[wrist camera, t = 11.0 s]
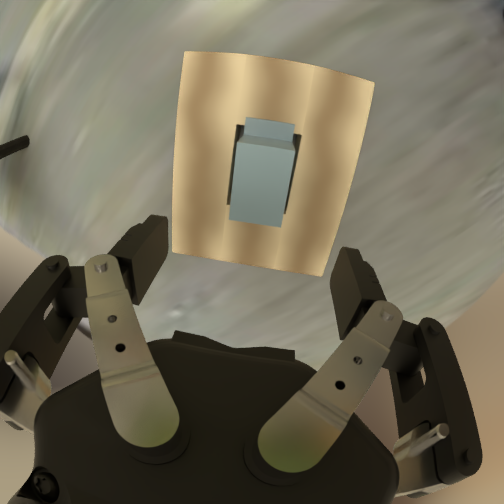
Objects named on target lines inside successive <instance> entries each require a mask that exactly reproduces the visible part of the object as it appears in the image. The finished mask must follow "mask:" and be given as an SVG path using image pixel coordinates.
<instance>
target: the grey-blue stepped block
mask: <svg viewBox="0 0 504 504" xmlns="http://www.w3.org/2000/svg"><path fill="white" fill-rule="evenodd" d="M294 128H295V124H291V123H286V122H280V121H273V120H266V119H259V118H252V117H246V119H245V127H244V135H243V136H242V137H241V138H240V139H239V141H238V142H237V148H236V156H235V165H234V174H233V183H232V193H231V202H230V212H229V220H233V221H240V222H247V223H254V224H260V225H267V226H273V227H280V228H281V224H282V219H283V214H284V209H285V204H286V199H287V194H288V188H289V183H290V178H291V172H292V167H293V162H294V156H295V148H294V146H293V143H292V139H293V134H294Z"/></svg>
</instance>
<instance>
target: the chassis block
mask: <svg viewBox="0 0 504 504" xmlns="http://www.w3.org/2000/svg"><path fill="white" fill-rule="evenodd" d="M374 85H375V83H374V82H371V81H368V80H365V79H362V78H358V77H355V76H352V75H349V74H345V73H342V72H338V71H334V70H330V69H326V68H322V67H318V66H314V65H309V64H304V63H299V62H294V61H289V60H283V59H277V58H270V57H263V56H255V55H246V54H235V53H221V52H185V53H184V60H183V67H182V75H181V83H180V91H179V101H178V111H177V122H176V134H175V149H174V168H173V197H172V252H175V253H181V254H186V255H192V256H198V257H204V258H210V259H216V260H222V261H228V262H234V263H240V264H246V265H252V266H258V267H264V268H270V269H276V270H283V271H289V272H295V273H302V274H308V275H314V276H321V277H322V275H323V272H324V269H325V266H326V263H327V260H328V257H329V255H330V252H331V249H332V246H333V243H334V239H335V236H336V233H337V230H338V227H339V224H340V221H341V217H342V214H343V211H344V207H345V204H346V201H347V197H348V194H349V190H350V187H351V183H352V180H353V176H354V172H355V168H356V165H357V161H358V157H359V153H360V149H361V145H362V141H363V137H364V132H365V128H366V124H367V119H368V115H369V110H370V105H371V100H372V95H373V90H374ZM246 117H252V118H259V119H266V120H273V121H280V122H286V123H291V124H295V128H294V134H293V139H292V143H293V146H294V148H295V156H294V162H293V167H292V172H291V178H290V183H289V188H288V194H287V199H286V204H285V209H284V214H283V219H282V224H281V228H280V227H273V226H267V225H260V224H254V223H247V222H240V221H233V220H229V212H230V202H231V193H232V183H233V174H234V165H235V156H236V148H237V142H238V141H239V139H240V138H241V137H242V136H243V135H244V127H245V119H246Z"/></svg>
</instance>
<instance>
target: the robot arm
mask: <svg viewBox="0 0 504 504" xmlns="http://www.w3.org/2000/svg"><path fill="white" fill-rule="evenodd" d="M167 253H168V219H167V217H165V216H158V215H150V216H149V217H148V218H147V219H146V220H145V222H144V223H143V224H141V223H139V224H137V225H135V226H133V227H131V228H130V229H129V230H128V231H127V232H126V233H125V235H124V236H123V237H122V238H121V240H119V241H118V242H117V243H116V245H115V246H114V247H113V248H112V249H111V250H110V251H109V253H108V254H101V255H97V256H94V257H92V258H90V259H89V260H88V261H87V262H86V264H85V266H69V263H68V259H67V258H66V257H65V256H62V255H55V256H51V257H49V258H47V259H45V260H44V261H43V262H42V263H41V264H40V265H39V266H38V267H37V268H36V269H35V270H34V272H33V273H32V274H31V275H30V276H29V278H28V279H27V280H26V281H25V282H24V283H23V285H22V286H21V287H20V288H19V289H18V291H17V292H16V293H15V294H14V296H13V297H12V299H11V300H10V301H9V302H8V303H7V305H6V306H5V308H4V309H3V310H2V312H1V313H0V419H2V420H4V421H5V422H7V423H8V424H9V425H10V426H11V427H13V428H14V429H17V430H23V429H25V430H26V431H28V432H29V433H31V434H33V435H34V440H35V459H34V467H33V471H32V473H31V475H30V477H29V478H28V480H27V481H26V482H25V483H24V485H23V486H22V487H21V488H20V490H18V491H17V492H16V493H15V495H14V496H13V497H12V498H11V499H10V500H9V502H8V504H391V503H392V501H393V499H394V497H397V496H403V495H407V496H408V497H411V498H418V497H421V496H424V495H427V494H429V493H432V492H435V491H438V490H440V489H442V488H445V487H447V486H450V485H452V484H454V483H456V482H459V481H461V480H463V479H465V478H467V477H469V476H471V475H473V474H475V473H476V472H477V471H478V470H479V468H480V466H481V463H482V449H481V443H480V438H479V434H478V429H477V425H476V420H475V416H474V412H473V408H472V405H471V401H470V398H469V394H468V391H467V388H466V384H465V381H464V378H463V375H462V372H461V369H460V366H459V364H458V361H457V358H456V355H455V353H454V351H453V348H452V345H451V343H450V340H449V338H448V335H447V333H446V331H445V329H444V327H443V326H442V325H441V324H440V323H439V322H438V321H436V320H435V319H432V318H428V317H426V318H423V319H422V320H421V321H420V323H419V324H418V325H416V324H413V323H410V322H408V321H405V320H403V315H402V313H401V311H400V310H399V309H398V308H397V307H396V306H395V305H394V304H392V303H390V302H387V300H386V298H385V295H384V293H383V290H382V288H381V285H380V284H379V281H378V278H376V277H377V276H376V274H375V271H374V269H373V268H372V267H371V266H370V265H369V264H368V263H367V262H366V261H363V259H362V256H361V254H360V252H359V250H358V249H353V248H348V247H342V248H341V250H340V252H339V255H338V258H337V261H336V263H335V266H334V269H333V271H332V274H331V279H330V289H331V294H332V299H333V304H334V309H335V314H336V320H337V325H338V331H339V337H340V340H343V342H342V343H341V344H340V345H339V347H338V348H337V349H336V350H335V351H334V353H333V354H332V355H331V356H330V357H329V359H328V360H327V361H326V362H325V363H324V365H323V366H322V367H321V368H320V369H319V370H318V371H316V370H315V369H313V368H312V367H310V366H308V365H307V364H305V363H303V362H301V361H298V360H295V350H287V349H279V348H272V347H251V348H232V347H229V346H226V345H224V344H221V343H219V342H217V341H214V340H212V339H209V338H207V337H205V336H200V335H195V334H191V333H186V332H181V331H177V330H175V332H174V335H173V337H172V339H160V340H154V341H151V342H148V343H146V341H145V338H144V335H143V333H142V330H141V327H140V325H139V322H138V319H137V316H136V314H135V311H134V308H133V305H132V304H135V305H139V304H140V303H141V301H142V299H143V297H144V295H145V294H146V292H147V290H148V288H149V287H150V285H151V283H152V281H153V280H154V278H155V276H156V274H157V273H158V271H159V269H160V268H161V266H162V264H163V263H164V261H165V259H166V257H167ZM50 303H52V305H53V308H52V310H51V311H50V313H49V314H48V316H47V317H46V319H45V320H44V319H43V318H44V313H45V311H46V309H47V308H48V306H49V305H50ZM82 317H85V318H89V324H90V330H91V335H92V340H93V345H94V349H95V354H96V359H97V363H98V367H99V369H98V370H96V371H95V372H93V373H91V374H89V375H87V376H86V377H84V378H82V379H80V380H78V381H76V382H75V383H73V384H71V385H69V386H67V387H65V388H63V389H62V390H60V391H58V392H56V393H54V394H52V395H51V396H50V394H51V382H50V378H51V376H52V374H53V372H54V370H55V368H56V365H57V364H58V362H59V360H60V358H61V356H62V354H63V352H64V350H65V348H66V346H67V344H68V342H69V340H70V338H71V337H72V335H73V333H74V331H75V330H76V328H77V326H78V324H79V323H80V321H81V319H82ZM381 367H383V368H386V369H389V373H390V379H391V384H392V390H393V396H394V402H395V410H396V417H397V425H398V433H399V440H398V441H397V442H396V443H395V446H394V449H393V454H391V453H390V451H389V450H388V449H387V448H386V447H385V446H384V445H383V444H382V443H381V441H380V440H379V439H378V438H377V437H376V436H375V435H374V434H373V433H372V432H371V431H370V430H369V428H368V427H367V426H366V425H365V424H364V423H363V422H362V421H361V419H360V418H359V417H358V416H357V415H356V414H355V413H354V411H355V410H356V408H357V406H358V405H359V403H360V402H361V400H362V399H363V397H364V395H365V394H366V392H367V391H368V389H369V388H370V386H371V384H372V383H373V381H374V379H375V377H376V375H377V374H378V372H379V370H380V369H381ZM423 367H424V371H425V374H426V382H425V385H424V383H423V379H422V376H421V372H420V370H421V369H422V368H423Z"/></svg>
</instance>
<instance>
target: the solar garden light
mask: <svg viewBox="0 0 504 504" xmlns="http://www.w3.org/2000/svg"><path fill="white" fill-rule="evenodd" d="M28 145H29V138H28V136H22V137H20V138H17V139H15V140H12V141H10V142H7V143H5V144H2V145H0V159H2V158H4V157H6V156H8V155H10V154H12V153H14V152H17V151H19V150H21V149H24V148H26V147H28Z"/></svg>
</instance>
